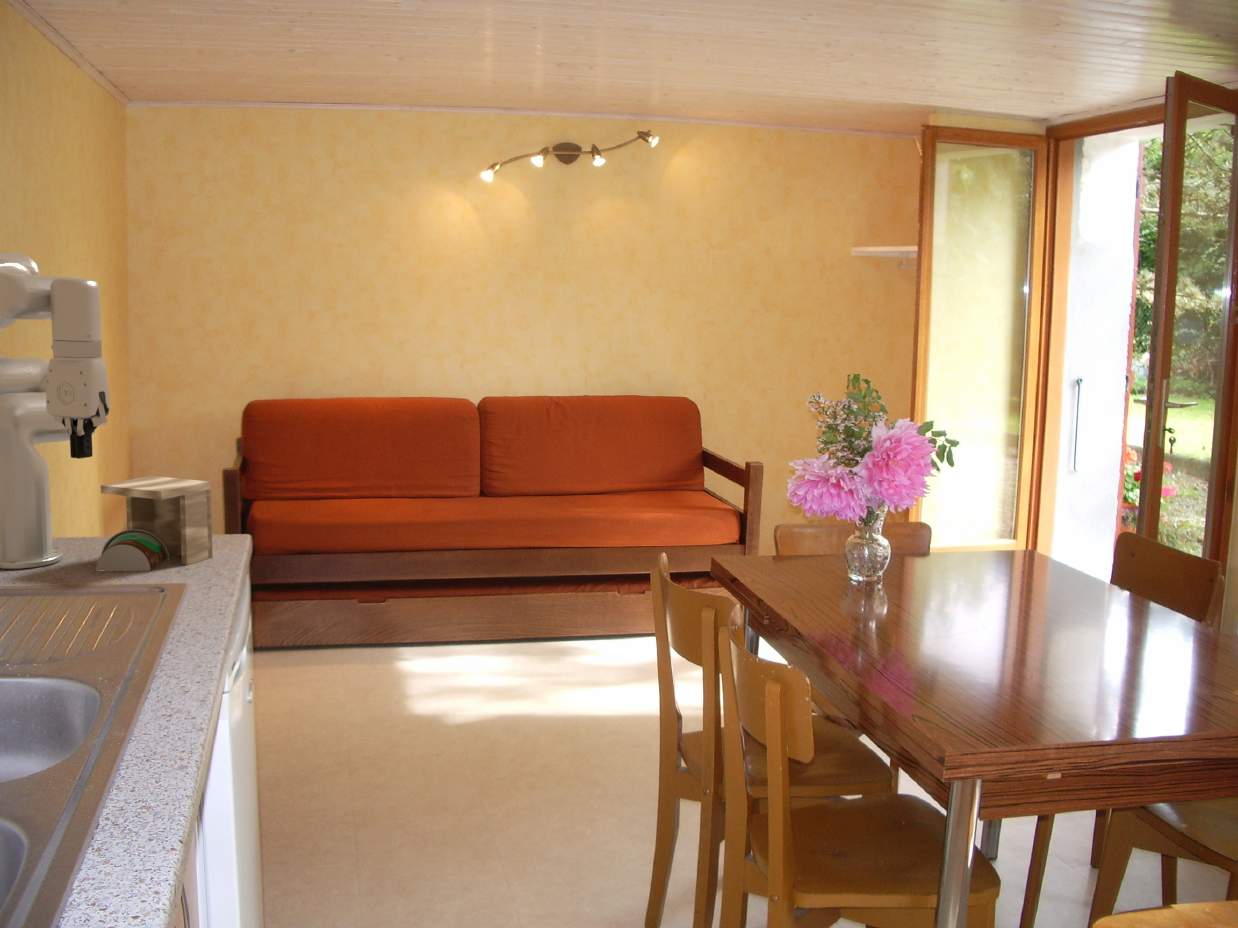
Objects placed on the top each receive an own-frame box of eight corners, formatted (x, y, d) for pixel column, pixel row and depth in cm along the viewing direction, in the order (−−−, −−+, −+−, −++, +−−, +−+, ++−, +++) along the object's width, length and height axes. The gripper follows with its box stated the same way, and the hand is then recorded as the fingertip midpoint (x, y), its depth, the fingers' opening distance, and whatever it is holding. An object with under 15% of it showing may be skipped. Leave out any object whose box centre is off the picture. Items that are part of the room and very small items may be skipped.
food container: (86, 538, 194) (102, 527, 204) (87, 571, 195) (103, 558, 205) (158, 537, 196) (170, 526, 206) (159, 570, 197) (171, 557, 207)
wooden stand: (103, 564, 201) (100, 485, 198) (154, 550, 213) (152, 475, 211) (163, 572, 196) (161, 491, 194) (212, 557, 208) (210, 481, 206)
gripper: (25, 349, 182) (30, 456, 184) (93, 354, 177) (97, 463, 179) (62, 348, 189) (66, 451, 191) (128, 352, 184) (132, 458, 186)
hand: (81, 457), depth 185 cm, fingers closed
